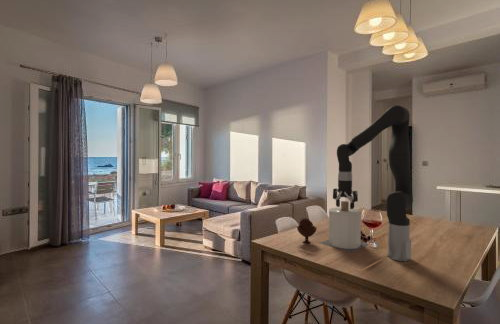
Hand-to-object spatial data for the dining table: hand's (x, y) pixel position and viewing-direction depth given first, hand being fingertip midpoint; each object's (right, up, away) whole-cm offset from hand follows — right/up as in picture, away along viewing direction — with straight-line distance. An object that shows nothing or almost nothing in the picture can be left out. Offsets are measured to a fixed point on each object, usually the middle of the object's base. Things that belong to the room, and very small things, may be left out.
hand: (344, 207), depth 155 cm
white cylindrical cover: (0, -21, +1) cm, 21 cm away
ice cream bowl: (-21, -21, +3) cm, 30 cm away
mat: (0, -21, +1) cm, 21 cm away
